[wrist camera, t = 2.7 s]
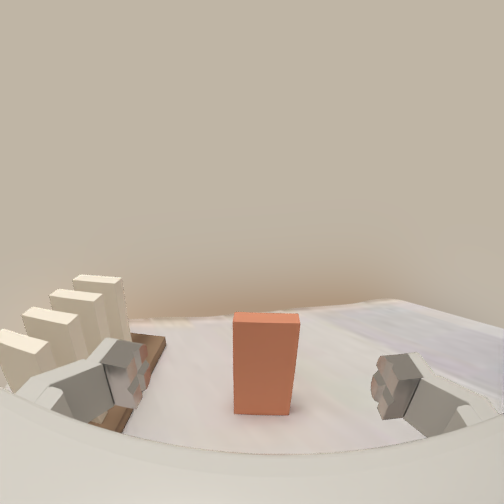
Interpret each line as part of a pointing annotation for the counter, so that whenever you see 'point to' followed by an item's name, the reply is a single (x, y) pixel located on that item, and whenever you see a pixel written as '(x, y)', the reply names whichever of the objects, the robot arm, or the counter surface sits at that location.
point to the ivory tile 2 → (23, 358)
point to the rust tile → (264, 362)
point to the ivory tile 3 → (59, 336)
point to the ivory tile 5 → (108, 301)
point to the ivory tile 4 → (84, 314)
